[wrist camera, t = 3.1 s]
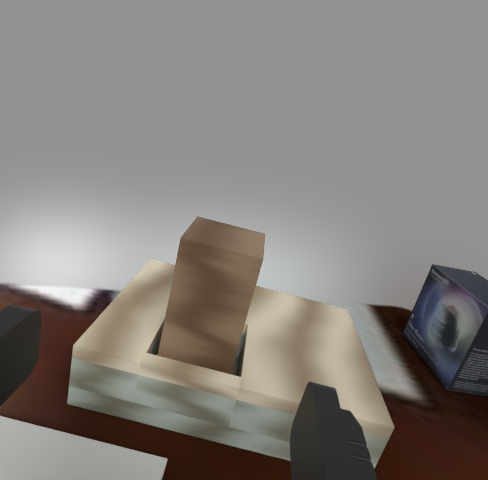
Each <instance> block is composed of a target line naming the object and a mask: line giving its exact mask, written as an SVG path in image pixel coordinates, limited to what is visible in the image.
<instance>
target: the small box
mask: <svg viewBox="0 0 488 480" xmlns="http://www.w3.org/2000/svg"><path fill="white" fill-rule="evenodd" d="M402 334H403V335H404V336H405V337H406V339H407V340H408V341H409V343H410V344H411V345H412V346H413V347H414V349H415V350H416V351H417V353H418V354H419V355H420V356H421V358H422V359H423V360H424V361H425V363H426V364H427V365H428V367H429V368H430V369H431V370H432V372H433V373H434V374H435V375H436V377H437V378H438V379H439V381H440V382H441V383H442V384H443V386H444V387H445V388H446V390H450V391H455V392H462V393H468V394H474V395H481V396H488V280H486V279H485V278H483V277H482V276H480V275H479V274H477V273H476V272H471V271H466V270H461V269H455V268H450V267H444V266H439V265H433V264H432V266H431V269H430V271H429V274H428V276H427V278H426V280H425V283H424V285H423V287H422V290H421V292H420V294H419V297H418V299H417V301H416V304H415V306H414V308H413V310H412V313H411V315H410V317H409V319H408V322H407V324H406V326H405V328H404V331H403V333H402Z"/></svg>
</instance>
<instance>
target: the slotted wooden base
mask: <svg viewBox="0 0 488 480" xmlns="http://www.w3.org/2000/svg"><path fill="white" fill-rule="evenodd" d="M174 270H175V265H172V264H168V263H164V262H160V261H157V260H153V259H150V260H149V261H148V262H147V263H146V264H145V265H144V266H143V268H142V269H141V270H140V271H139V272H138V273H137V274H136V276H135V277H134V278H133V279H132V280H131V281H130V282H129V283H128V284H127V286H126V287H125V288H124V289H123V290H122V291H121V292H120V293H119V295H118V296H117V297H116V298H115V299H114V300H113V301H112V302H111V304H110V305H109V306H108V307H107V308H106V309H105V310H104V311H103V313H102V314H101V315H100V316H99V317H98V318H97V319H96V320H95V322H94V323H93V324H92V325H91V326H90V327H89V328H88V329H87V331H86V332H85V333H84V334H83V335H82V336H81V337H80V339H79V340H78V341H77V342H76V343H75V344H74V345H73V353H72V362H71V372H70V381H69V391H68V400H67V404H69V405H73V406H77V407H81V408H85V409H89V410H93V411H97V412H101V413H105V414H109V415H112V416H116V417H120V418H124V419H128V420H132V421H136V422H140V423H144V424H148V425H152V426H156V427H159V428H163V429H167V430H171V431H175V432H179V433H183V434H187V435H191V436H195V437H199V438H203V439H206V440H210V441H214V442H218V443H222V444H226V445H230V446H234V447H238V448H242V449H246V450H250V451H253V452H257V453H261V454H265V455H269V456H273V457H277V458H281V459H285V460H289V461H291V459H290V434H291V428H292V424H293V420H294V418H295V415H296V412H297V410H298V407H299V404H300V402H301V399H302V396H303V393H304V391H305V388H306V386H307V384H308V382H314V383H318V384H322V385H326V386H330V387H334V388H335V389H336V391H337V395H338V399H339V403H340V408H341V409H345V410H349V411H351V412H352V414H353V415H354V417H355V418H356V420H357V421H358V422H359V424H360V425H361V427H362V429H363V433H364V436H365V440H366V443H367V448H368V450H369V453H370V457H371V463H372V464H373V467H374V468H375V466H376V464H377V462H378V460H379V458H380V456H381V454H382V452H383V450H384V448H385V446H386V444H387V442H388V440H389V438H390V436H391V434H392V431H393V429H394V425H393V423H392V420H391V418H390V415H389V412H388V410H387V407H386V405H385V402H384V400H383V397H382V395H381V392H380V389H379V387H378V384H377V382H376V379H375V377H374V374H373V371H372V369H371V366H370V364H369V361H368V359H367V356H366V354H365V351H364V348H363V346H362V343H361V341H360V338H359V336H358V333H357V330H356V328H355V325H354V323H353V320H352V318H351V315H350V313H349V310H348V309H344V308H340V307H336V306H332V305H328V304H324V303H321V302H317V301H313V300H308V299H305V298H301V297H297V296H293V295H289V294H285V293H281V292H278V291H274V290H270V289H266V288H261V287H258V286H255V290H254V293H253V297H252V300H251V304H250V308H249V311H248V315H247V318H246V322H245V325H244V329H243V333H242V336H241V340H240V343H239V347H238V350H237V354H236V358H235V361H234V365H233V368H232V372H231V374H227V373H223V372H219V371H216V370H212V369H208V368H204V367H200V366H196V365H192V364H188V363H184V362H180V361H176V360H173V359H169V358H165V357H161V356H158V351H159V346H160V341H161V336H162V331H163V326H164V320H165V315H166V310H167V305H168V300H169V295H170V290H171V285H172V280H173V275H174Z"/></svg>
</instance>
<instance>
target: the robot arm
mask: <svg viewBox="0 0 488 480" xmlns="http://www.w3.org/2000/svg"><path fill="white" fill-rule="evenodd" d="M40 328H41V313H40V312H39V311H37V310H33V309H29V308H25V307H21V306H17V305H9V306H7V307H6V308H4V309H3V310H2V311H0V406H1V405H2V404H3V403H4V402H5V401H6V400H7V399H8V398H9V397H10V395H11V394H12V393H13V392H14V391H15V390H16V389H17V388H18V387H19V386H20V385H21V384H22V383H23V382H24V381H25V380H26V379H27V378H28V376H29V375H30V374H31V372H32V371H33V369H34V367H35V365H36V362H37V359H38V354H39V341H40ZM290 459H291V477H292V480H377V477H376V474H375V470H374V467H373V464H372V463H371V457H370V453H369V450H368V448H367V443H366V440H365V436H364V433H363V429H362V427H361V425H360V424H359V422H358V421H357V420H356V418H355V417H354V415H353V414H352V412H351V411H349V410H345V409H341V408H340V403H339V399H338V395H337V391H336V389H335V388H334V387H330V386H326V385H322V384H318V383H314V382H308V384H307V386H306V388H305V391H304V393H303V396H302V399H301V402H300V404H299V407H298V410H297V412H296V415H295V418H294V420H293V424H292V428H291V434H290Z"/></svg>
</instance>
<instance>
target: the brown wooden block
mask: <svg viewBox="0 0 488 480" xmlns="http://www.w3.org/2000/svg"><path fill="white" fill-rule="evenodd" d="M264 242H265V234H264V233H260V232H256V231H251V230H248V229H244V228H240V227H236V226H232V225H229V224H225V223H220V222H216V221H213V220H209V219H205V218H201V217H197V218H196V219H195V220H194V222H193V223H192V224H191V225H190V227H189V228H188V229H187V231H186V232H185V233H184V235H183V236H182V237H181V240H180V244H179V249H178V254H177V260H176V265H175V270H174V275H173V280H172V285H171V290H170V295H169V300H168V305H167V310H166V315H165V320H164V326H163V331H162V336H161V341H160V346H159V351H158V356H161V357H165V358H169V359H173V360H176V361H180V362H184V363H188V364H192V365H196V366H200V367H204V368H208V369H212V370H216V371H219V372H223V373H227V374H231V372H232V368H233V365H234V361H235V358H236V354H237V350H238V347H239V343H240V340H241V336H242V333H243V329H244V325H245V322H246V318H247V315H248V311H249V308H250V304H251V300H252V297H253V293H254V290H255V286H256V283H257V279H258V276H259V272H260V268H261V265H262V261H263V254H264Z"/></svg>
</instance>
